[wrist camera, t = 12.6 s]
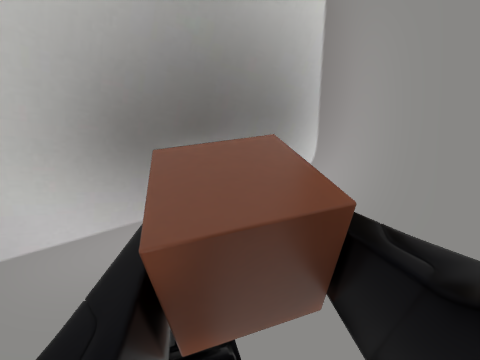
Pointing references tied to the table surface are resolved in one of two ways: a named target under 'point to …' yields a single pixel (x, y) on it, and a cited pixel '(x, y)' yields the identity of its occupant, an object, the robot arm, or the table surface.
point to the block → (239, 237)
